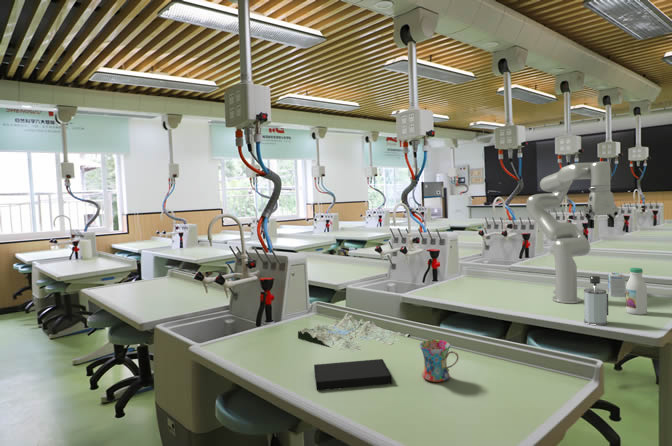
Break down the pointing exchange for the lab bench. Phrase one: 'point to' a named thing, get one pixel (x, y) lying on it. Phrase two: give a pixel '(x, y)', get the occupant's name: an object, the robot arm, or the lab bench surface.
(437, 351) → the mug
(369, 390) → the lab bench surface
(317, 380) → the external hard drive
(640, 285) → the milk bottle
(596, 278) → the plunger
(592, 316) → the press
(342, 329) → the topographic map model
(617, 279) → the light bulb box
